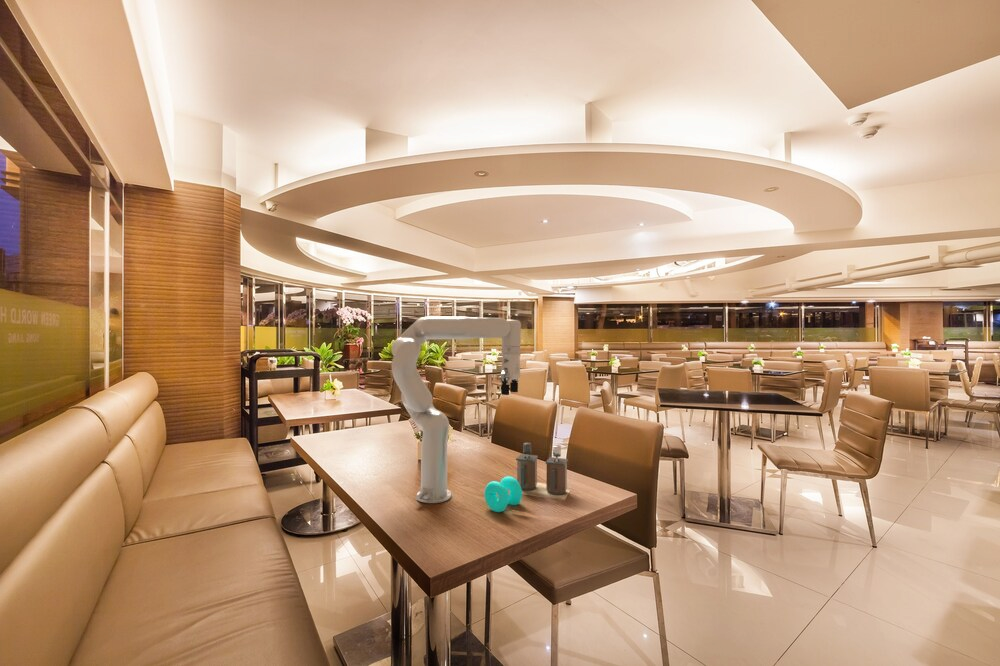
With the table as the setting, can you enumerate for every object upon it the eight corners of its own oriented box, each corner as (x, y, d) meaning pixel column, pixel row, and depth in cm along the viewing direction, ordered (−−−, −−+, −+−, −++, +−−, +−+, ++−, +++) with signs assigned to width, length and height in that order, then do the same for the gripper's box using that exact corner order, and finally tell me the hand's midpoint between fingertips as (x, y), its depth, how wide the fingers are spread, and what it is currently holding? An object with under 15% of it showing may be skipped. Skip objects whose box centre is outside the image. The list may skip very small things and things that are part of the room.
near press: (562, 498, 148) (562, 466, 148) (543, 495, 150) (543, 463, 150) (567, 489, 156) (567, 458, 157) (549, 487, 159) (549, 456, 159)
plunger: (561, 490, 151) (561, 448, 151) (548, 488, 153) (549, 446, 153) (564, 486, 156) (564, 445, 156) (551, 484, 158) (552, 443, 158)
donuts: (523, 508, 142) (523, 479, 142) (503, 517, 135) (503, 486, 135) (502, 500, 149) (503, 472, 149) (482, 508, 142) (482, 479, 142)
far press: (531, 494, 152) (531, 448, 152) (513, 491, 154) (513, 446, 154) (538, 485, 160) (538, 442, 161) (520, 483, 163) (521, 440, 163)
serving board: (564, 503, 146) (564, 500, 146) (511, 495, 153) (511, 492, 153) (571, 489, 159) (571, 486, 159) (522, 483, 166) (522, 480, 166)
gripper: (511, 351, 156) (510, 396, 156) (526, 350, 172) (525, 391, 172) (493, 350, 159) (492, 395, 159) (509, 350, 175) (508, 390, 175)
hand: (509, 393), depth 165 cm, fingers open, 9 cm apart
